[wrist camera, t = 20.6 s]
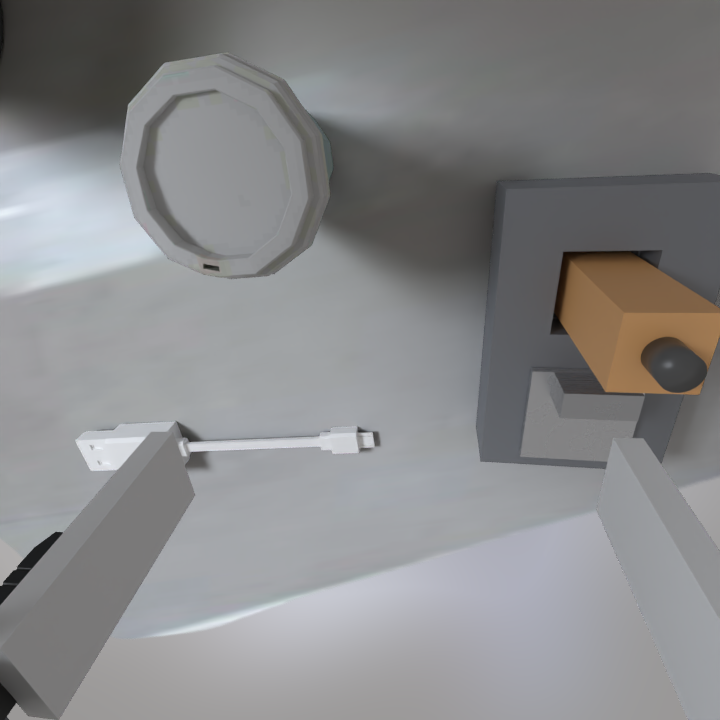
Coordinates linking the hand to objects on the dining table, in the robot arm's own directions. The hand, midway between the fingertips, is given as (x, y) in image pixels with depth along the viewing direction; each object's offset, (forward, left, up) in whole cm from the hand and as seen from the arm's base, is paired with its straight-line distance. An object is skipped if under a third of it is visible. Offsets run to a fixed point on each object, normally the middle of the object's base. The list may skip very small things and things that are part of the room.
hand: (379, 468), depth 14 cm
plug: (+1, +13, -23) cm, 27 cm away
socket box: (+5, +13, -25) cm, 29 cm away
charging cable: (+20, -21, -26) cm, 39 cm away
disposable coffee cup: (-8, -9, -26) cm, 28 cm away
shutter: (+11, +13, -20) cm, 27 cm away
